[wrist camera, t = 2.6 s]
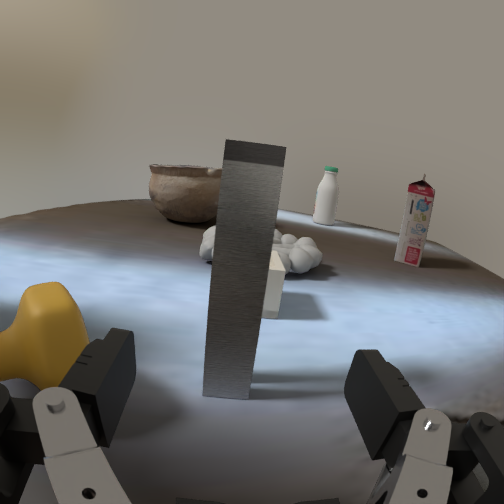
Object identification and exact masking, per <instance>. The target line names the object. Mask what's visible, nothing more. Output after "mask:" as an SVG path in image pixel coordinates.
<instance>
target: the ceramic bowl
mask: <svg viewBox="0 0 504 504" xmlns="http://www.w3.org/2000/svg"><path fill="white" fill-rule="evenodd" d="M150 169H151V172H152V176H151V179H150V183H149V194H150V198H151V200H152V201H153V203H154V205H155V207H156V208H157V209H158V210H159V211H160V213H161V214H162V215H163V216H165V217H166V218H169V219H171V220H175V221H179V222H188V223H201V222H206V221H208V220H210V219H211V218H213V217H214V216H216V215H217V210H218V201H219V192H220V183H221V175H222V168H210V167H201V166H190V165H180V166H179V165H157V164H153V165H150Z"/></svg>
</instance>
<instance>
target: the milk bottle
mask: <svg viewBox="0 0 504 504" xmlns="http://www.w3.org/2000/svg"><path fill="white" fill-rule="evenodd" d="M336 172H338V168H334V167H328V166H325V175H324V177H323V179H322V181H321V183H320V184H319V187H318V190H317V195H316V201H315V208H314V213H313V222H315V223H318V224H323V225H333V224H334V221H335V215H336V209H337V203H338V195H339V188H338V184H337V179H336V176H337V173H336Z"/></svg>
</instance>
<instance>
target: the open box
mask: <svg viewBox="0 0 504 504" xmlns="http://www.w3.org/2000/svg"><path fill="white" fill-rule="evenodd" d="M285 272H286V271H285V268H284V266H283V264H282V262H281V259H280V257H279V255H278V253H277V251H274V250H272V252H271V259H270V266H269V272H268V279H267V285H266V292H265V298H264V305H263V311H262V317H261V318H269V319H277V318H278V312H279V307H280V301H281V295H282V289H283V284H284V278H285Z"/></svg>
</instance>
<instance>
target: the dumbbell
mask: <svg viewBox="0 0 504 504" xmlns="http://www.w3.org/2000/svg"><path fill="white" fill-rule="evenodd" d="M89 343H90V342H89V338H88V334H87V330H86V327H85V323H84V320H83V317H82V314H81V312H80V310H79V308H78V306H77V304H76V302H75V301H74V299H73V298H72V296H71V295H70V293H69V292H68V290H67V289H66V288H65V287H64V286H63V285H62V284H61V283H59V282H48V283H42V284H37V285H33V286H31V287H29V288H27V289H26V290H25V292H24V293H23V295H22V297H21V300H20V303H19V307H18V311H17V315H16V317H15V320H14V322H13V323H12V325H11V326H10V327H9V328H8V329H6V330H4V331H2V332H0V382H1V381H5V380H9V379H14V378H21V379H25V380H28V381H30V382H32V383H33V384H35V385H36V386H37V387H38V388H39V389H40V390H41V391H42V390H44V389H46V388H50V387H58V386H59V384H60V383H61V381H62V380H63V378H64V377H65V375H66V374H67V372H68V371H69V369H70V368H71V366H72V365H73V364H74V363H75V361H76V359H77V358H78V356H80V354H81V352H82V351H83V349H84V348H85V347H86V345H88V344H89Z"/></svg>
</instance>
